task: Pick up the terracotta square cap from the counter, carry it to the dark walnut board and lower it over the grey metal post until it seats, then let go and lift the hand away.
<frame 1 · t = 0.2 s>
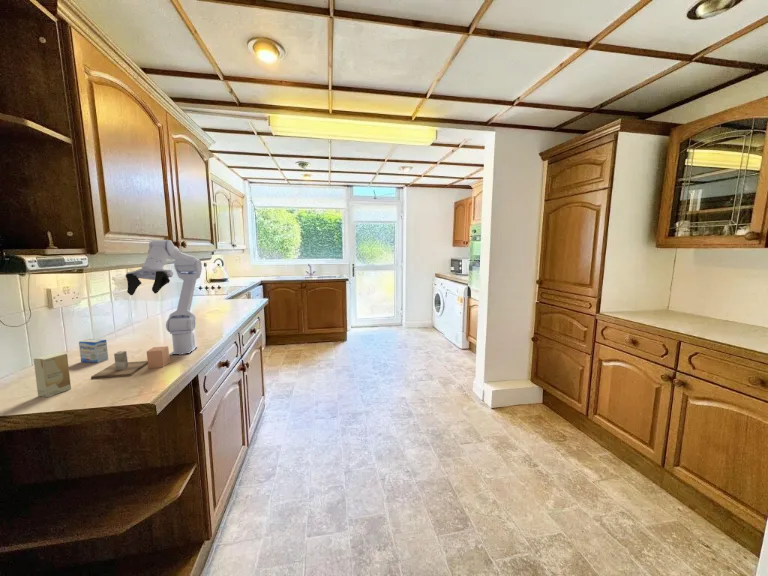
hand: (142, 292, 105), 31 cm above the countertop, tool tilted 45°, fingers open, 7 cm apart
post board: (122, 370, 115), on the countertop
skincare box: (55, 392, 97), on the countertop
medicine box: (95, 361, 125), on the countertop
square cap: (159, 364, 120), on the countertop
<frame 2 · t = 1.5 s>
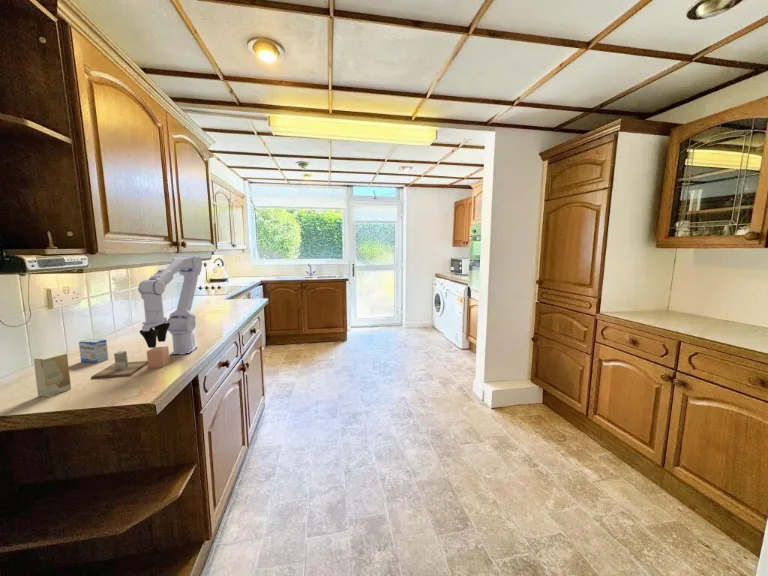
hand: (157, 344, 119), 8 cm above the countertop, tool pointing down, fingers open, 7 cm apart
nothing on the countertop moved.
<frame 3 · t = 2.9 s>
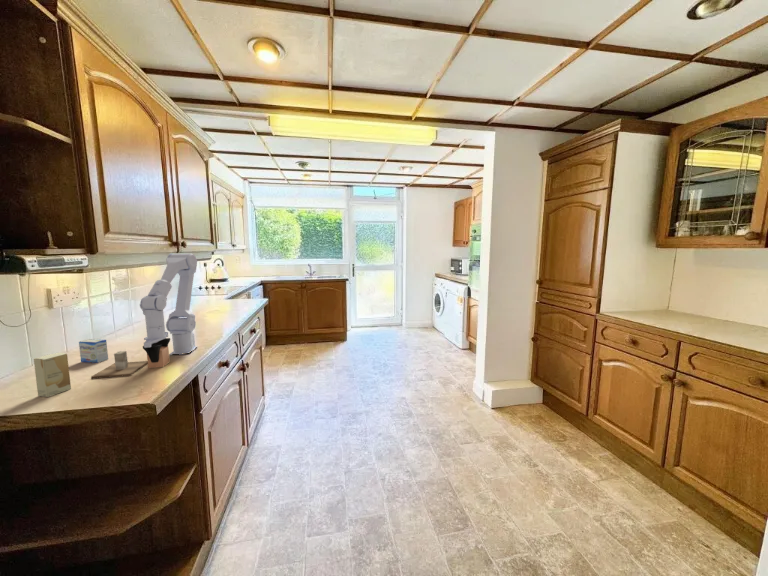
hand: (158, 359, 120), 2 cm above the countertop, tool pointing down, fingers closed on square cap, 5 cm apart
square cap: (159, 364, 120), on the countertop, touching gripper
everything else where it was.
when the fingers open (4 cm above the countertop, at t = 8.1 s): square cap stays where it is, resting on post board.
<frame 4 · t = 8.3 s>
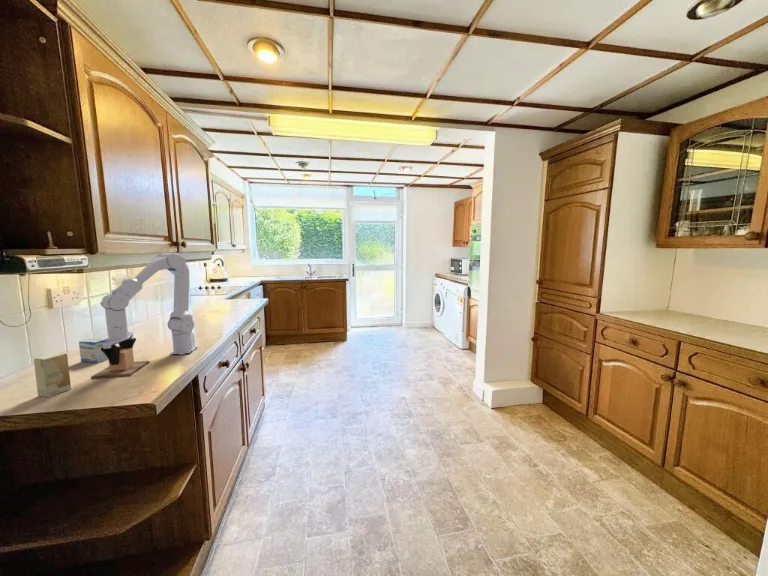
hand: (121, 361, 115), 4 cm above the countertop, tool pointing down, fingers open, 7 cm apart
square cap: (122, 367, 115), point 1 cm above the countertop, touching post board
everything else where it was.
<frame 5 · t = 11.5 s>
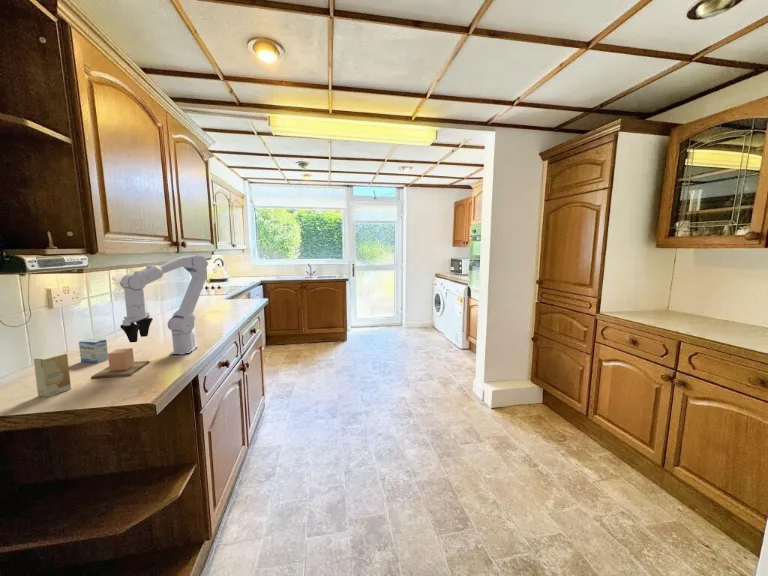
hand: (139, 339, 119), 10 cm above the countertop, tool pointing down, fingers open, 7 cm apart
nothing on the countertop moved.
at the end: square cap 0.1 cm from the post board (horizontally); square cap point 1.0 cm above the countertop; square cap tilted 0° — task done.
